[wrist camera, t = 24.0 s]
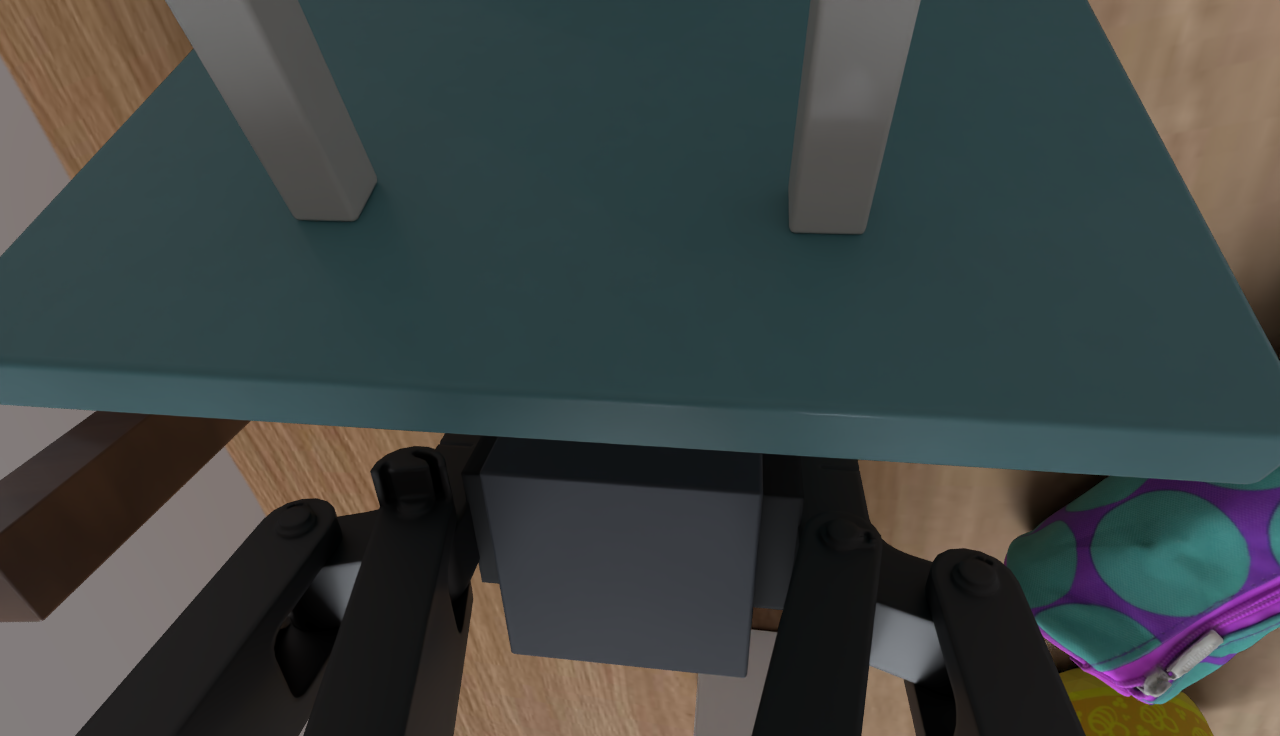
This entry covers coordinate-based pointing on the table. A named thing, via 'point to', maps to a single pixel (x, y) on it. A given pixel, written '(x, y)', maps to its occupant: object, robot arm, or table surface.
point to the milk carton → (734, 693)
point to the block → (626, 551)
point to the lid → (654, 237)
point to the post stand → (92, 500)
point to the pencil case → (1155, 578)
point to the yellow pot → (1129, 711)
